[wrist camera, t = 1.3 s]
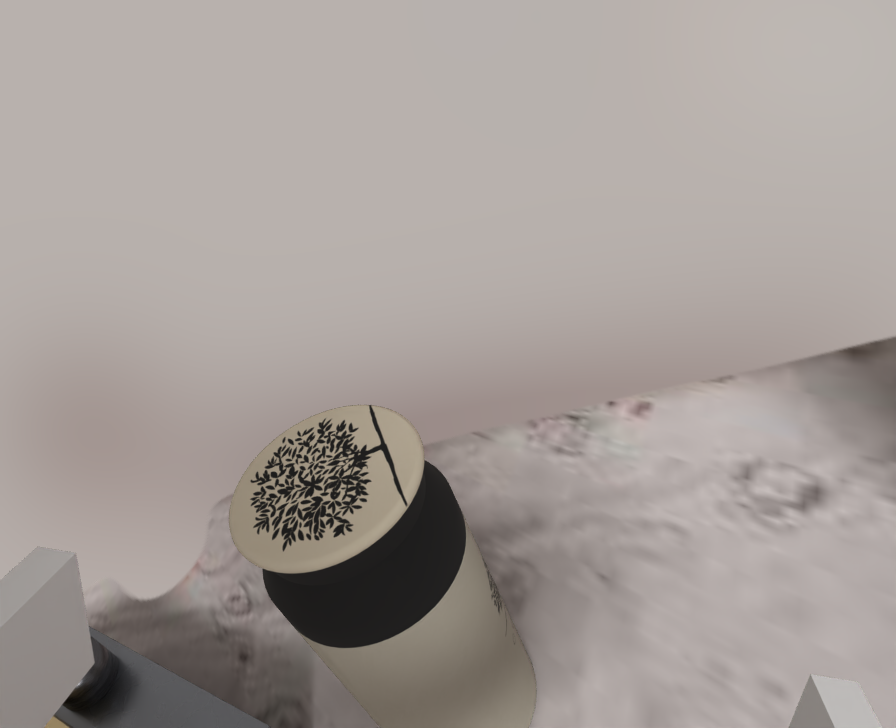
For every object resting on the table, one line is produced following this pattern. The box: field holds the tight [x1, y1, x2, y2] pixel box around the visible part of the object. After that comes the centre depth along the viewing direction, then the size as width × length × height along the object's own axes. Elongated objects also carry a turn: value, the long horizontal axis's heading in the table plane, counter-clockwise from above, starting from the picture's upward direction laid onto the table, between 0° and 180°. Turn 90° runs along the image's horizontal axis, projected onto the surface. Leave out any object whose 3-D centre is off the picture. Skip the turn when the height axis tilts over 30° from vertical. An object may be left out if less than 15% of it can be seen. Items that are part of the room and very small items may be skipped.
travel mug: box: [229, 405, 536, 728], centre depth 29 cm, size 8×8×18 cm
